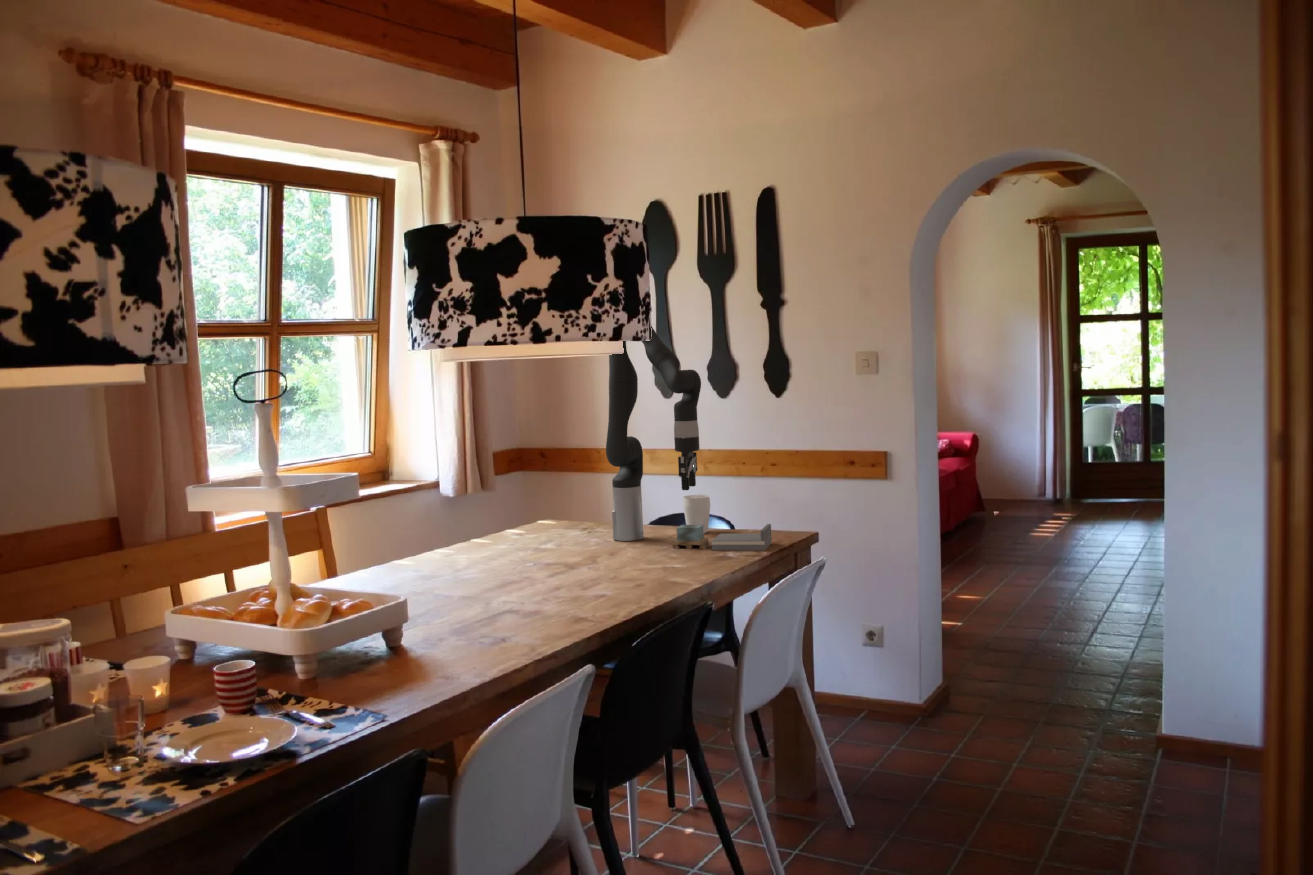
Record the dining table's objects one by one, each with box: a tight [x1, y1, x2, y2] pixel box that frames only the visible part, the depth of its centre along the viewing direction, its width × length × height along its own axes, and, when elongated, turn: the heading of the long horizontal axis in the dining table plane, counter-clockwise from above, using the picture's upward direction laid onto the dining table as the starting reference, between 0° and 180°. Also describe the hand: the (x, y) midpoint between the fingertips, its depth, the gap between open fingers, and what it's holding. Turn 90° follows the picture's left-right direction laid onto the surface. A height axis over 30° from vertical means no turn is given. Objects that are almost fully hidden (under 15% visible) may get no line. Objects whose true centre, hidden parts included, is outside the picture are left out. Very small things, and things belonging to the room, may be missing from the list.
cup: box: [682, 494, 711, 534], centre depth 350 cm, size 9×9×12 cm
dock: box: [711, 523, 773, 552], centre depth 320 cm, size 16×12×6 cm
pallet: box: [672, 524, 710, 550], centre depth 324 cm, size 10×6×6 cm, turn 74°
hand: (688, 488), depth 323 cm, fingers open, 8 cm apart
